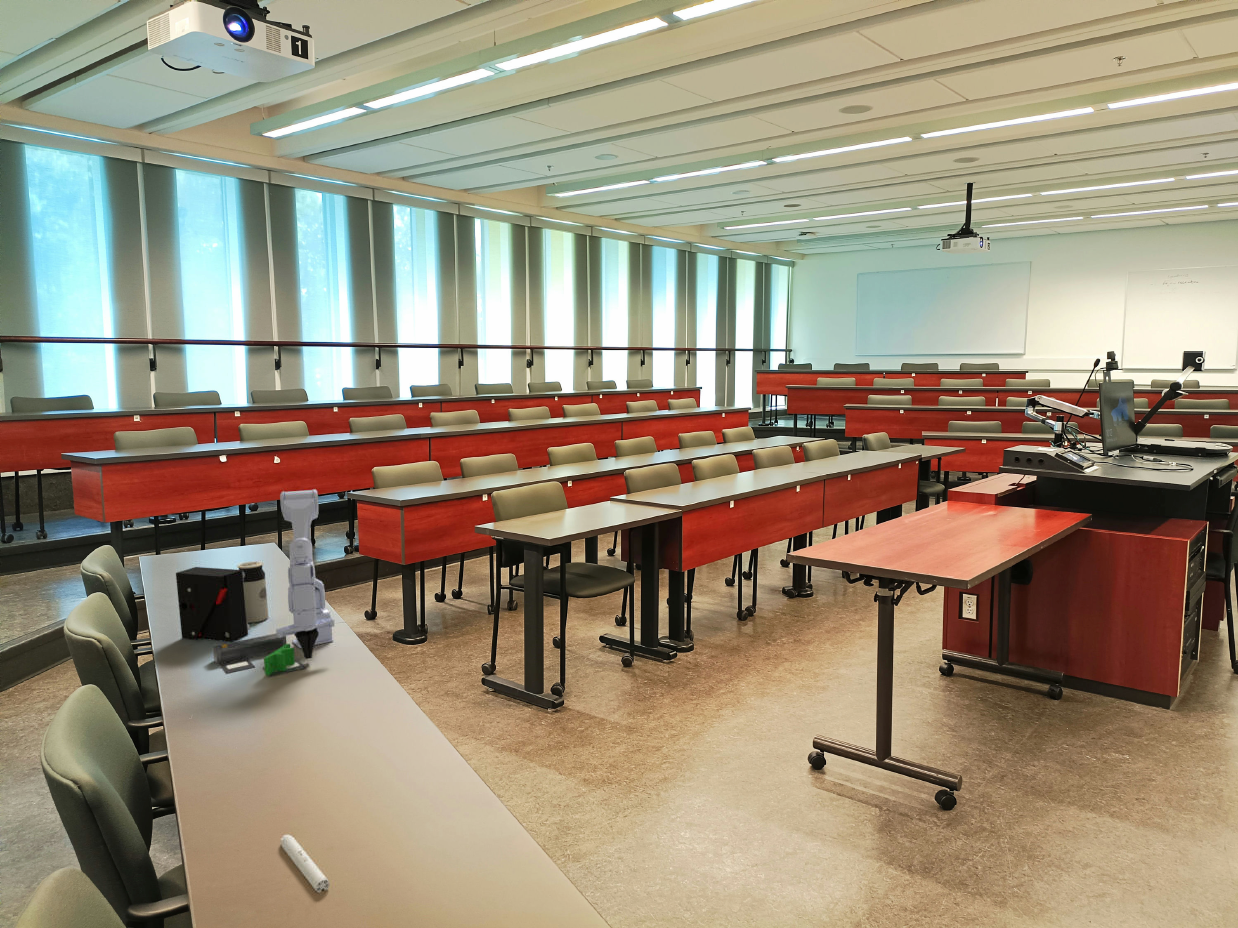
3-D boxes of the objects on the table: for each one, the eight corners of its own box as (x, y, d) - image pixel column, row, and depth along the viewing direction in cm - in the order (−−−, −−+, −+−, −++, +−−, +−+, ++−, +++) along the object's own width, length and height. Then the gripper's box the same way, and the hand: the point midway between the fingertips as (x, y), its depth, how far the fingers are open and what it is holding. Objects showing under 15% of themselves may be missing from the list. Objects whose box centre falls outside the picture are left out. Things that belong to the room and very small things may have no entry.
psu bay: (282, 645, 238) (281, 630, 237) (287, 649, 234) (286, 634, 233) (214, 660, 227) (212, 644, 226) (217, 664, 223) (216, 649, 223)
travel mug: (235, 622, 262) (230, 566, 260) (255, 614, 269) (250, 560, 267) (254, 624, 259) (250, 567, 256) (274, 617, 266) (269, 561, 264)
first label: (247, 659, 227) (247, 658, 227) (255, 667, 221) (254, 666, 221) (220, 665, 223) (220, 664, 223) (226, 673, 217) (226, 672, 217)
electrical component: (253, 633, 250) (247, 568, 248) (227, 644, 241) (221, 576, 238) (207, 628, 256) (201, 565, 253) (180, 639, 246) (173, 573, 244)
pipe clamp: (278, 675, 214) (277, 658, 213) (265, 675, 214) (263, 658, 213) (300, 659, 225) (299, 643, 224) (287, 659, 225) (286, 643, 224)
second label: (297, 659, 225) (297, 658, 225) (306, 668, 219) (306, 666, 219) (262, 667, 220) (262, 666, 220) (270, 676, 214) (270, 675, 214)
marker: (277, 844, 138) (276, 831, 137) (290, 839, 139) (289, 826, 139) (316, 895, 124) (315, 881, 124) (330, 889, 125) (329, 875, 125)
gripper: (280, 617, 214) (284, 667, 215) (336, 606, 222) (340, 655, 224) (272, 611, 219) (276, 660, 221) (328, 600, 228) (331, 648, 230)
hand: (308, 657), depth 223 cm, fingers closed
